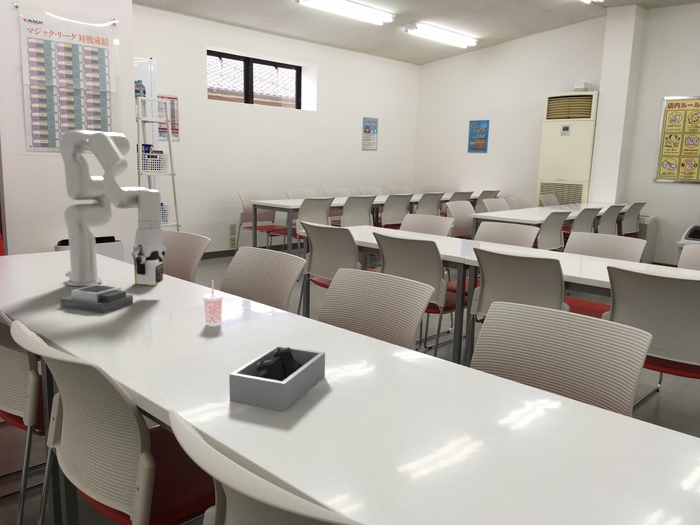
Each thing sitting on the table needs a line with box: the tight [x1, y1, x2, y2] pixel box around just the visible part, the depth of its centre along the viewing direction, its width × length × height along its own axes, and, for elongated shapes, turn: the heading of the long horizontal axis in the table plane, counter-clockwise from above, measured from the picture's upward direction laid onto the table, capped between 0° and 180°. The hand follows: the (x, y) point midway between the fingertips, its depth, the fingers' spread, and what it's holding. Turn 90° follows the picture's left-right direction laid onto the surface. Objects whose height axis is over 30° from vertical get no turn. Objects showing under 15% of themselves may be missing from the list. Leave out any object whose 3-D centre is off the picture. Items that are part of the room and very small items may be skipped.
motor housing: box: [59, 283, 134, 314], centre depth 193 cm, size 18×14×6 cm
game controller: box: [256, 346, 303, 381], centre depth 127 cm, size 16×7×10 cm, turn 162°
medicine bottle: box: [136, 251, 164, 286], centre depth 203 cm, size 7×7×12 cm
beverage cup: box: [202, 279, 224, 327], centre depth 174 cm, size 6×6×14 cm
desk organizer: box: [228, 344, 326, 412], centre depth 127 cm, size 13×21×6 cm, turn 159°
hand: (149, 271), depth 204 cm, fingers closed on medicine bottle, 8 cm apart
